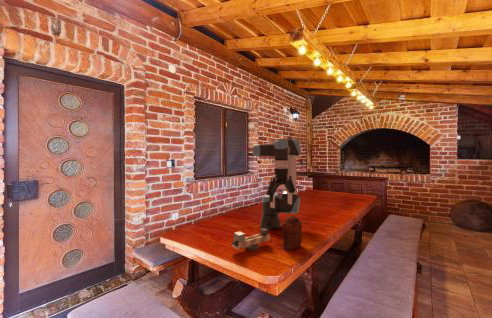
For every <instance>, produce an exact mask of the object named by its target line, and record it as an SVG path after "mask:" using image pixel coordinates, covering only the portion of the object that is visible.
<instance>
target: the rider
mask: <svg viewBox="0 0 492 318" xmlns="http://www.w3.org/2000/svg"><path fill="white" fill-rule="evenodd" d="M245 237H246V233H244V232H243V231H241V230H240V231H236V232H234V233H233V240H235V241H237V242H243V241H245Z"/></svg>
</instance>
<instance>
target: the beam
mask: <svg viewBox="0 0 492 318" xmlns="http://www.w3.org/2000/svg"><path fill="white" fill-rule="evenodd" d="M270 240H271V237H270V234H269V229H265V228H260V233H257V234H253V235H249V236H245V241H243V242H237V241H235V240H234V239H233V240H231V247H232V248H234V249H235V250H239V249H247V250H248V251H250V252H252V251H255V250H259V244H261V243H265V242H268V241H270Z"/></svg>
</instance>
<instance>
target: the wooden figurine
mask: <svg viewBox="0 0 492 318" xmlns="http://www.w3.org/2000/svg"><path fill="white" fill-rule="evenodd" d="M302 230H303V224H302V221H300V219H299V218H298V217H297V216H294V215H290V216H288V217H287V218H286V219H285V221H284V222H283V224H282V231H281V233H282V234H281V236H282V239H283V240H282V249H284V250H294V249H297V248H300V247H301V245H302V239H303V238H302V237H303V236H302Z"/></svg>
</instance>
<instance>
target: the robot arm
mask: <svg viewBox="0 0 492 318" xmlns="http://www.w3.org/2000/svg"><path fill="white" fill-rule="evenodd" d="M252 155H253V156H254V157H264V158H265V157H274V175H275V177H272V176H271V177H270V183H269V185H268V188H267V190H266V194H264V195H263V196H262V199H261V200H262V201H261V206H262V209H261V210H262V211H261V212H262V214H261V215H262V216H261V219H260V222H259V227H260V229H262V228H265V229H268V230H278V229H281V227H282V223H281V219H280V217H279V214H280V213H281V214H290V215H291V214H292V215H293V214H297V213H299V209H300V202H301V197H299V194H298V193H297V160H298V158H299V157H300V155H301V144H300V140H299V139H298V138H278V139H273V140H269V141H267V142H266V143H256V144H253V146H252ZM282 185H283V191H282V193H281V196H279V194H278V193H276V192H277V190H278V188H279V187H280V186H282Z"/></svg>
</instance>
